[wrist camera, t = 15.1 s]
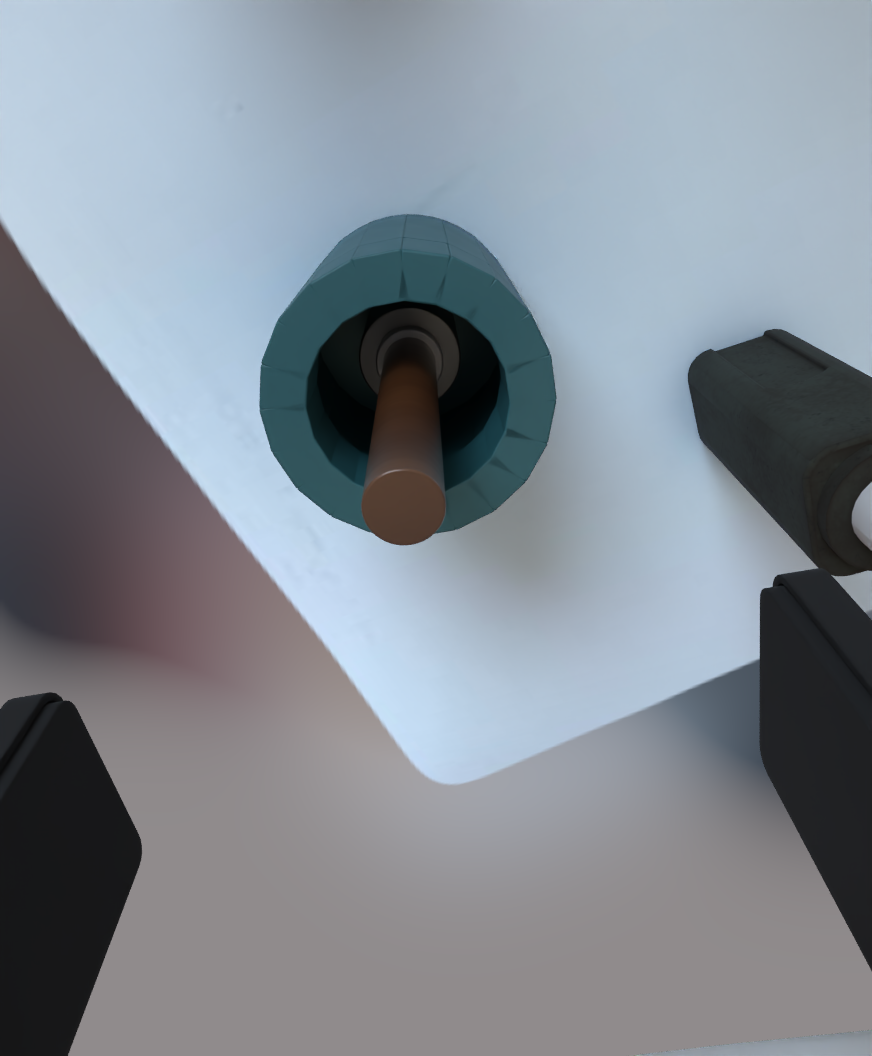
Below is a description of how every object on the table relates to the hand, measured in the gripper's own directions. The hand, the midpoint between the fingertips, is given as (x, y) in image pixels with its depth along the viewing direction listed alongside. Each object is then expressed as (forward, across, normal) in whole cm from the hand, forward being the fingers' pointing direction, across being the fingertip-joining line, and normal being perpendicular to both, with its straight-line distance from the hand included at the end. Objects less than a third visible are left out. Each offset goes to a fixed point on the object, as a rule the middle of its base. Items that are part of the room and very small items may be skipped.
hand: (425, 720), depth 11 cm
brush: (+28, +1, +1) cm, 28 cm away
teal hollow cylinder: (+28, +1, +1) cm, 28 cm away
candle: (+28, -14, +7) cm, 32 cm away
